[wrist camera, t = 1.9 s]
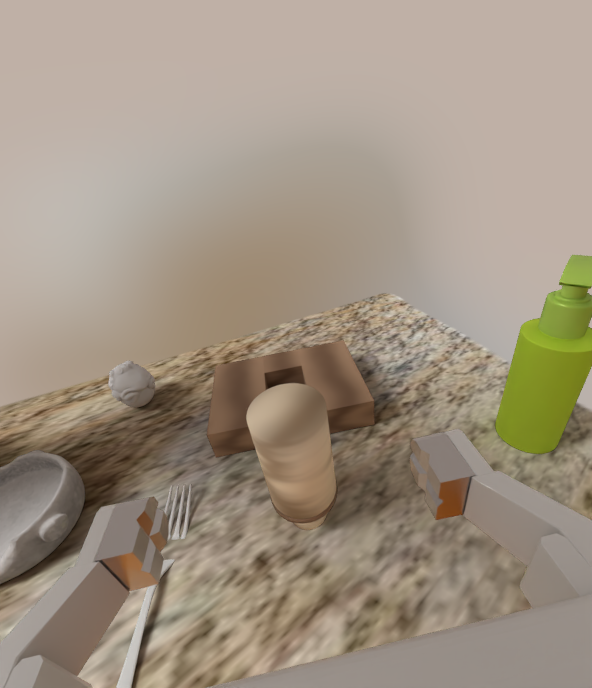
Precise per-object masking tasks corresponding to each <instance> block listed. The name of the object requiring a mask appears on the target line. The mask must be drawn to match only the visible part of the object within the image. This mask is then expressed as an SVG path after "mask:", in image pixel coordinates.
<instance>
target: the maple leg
mask: <svg viewBox="0 0 592 688" xmlns="http://www.w3.org/2000/svg"><path fill="white" fill-rule="evenodd" d="M246 420H247V424H248V427H249V430H250V434H251V437H252V440H253V443H254V446H255V449H256V452H257V455H258V458H259V462H260V465H261V468H262V471H263V474H264V477H265V480H266V483H267V486H268V490H269V493H270V497H271V501H272V504H273V506H274V508H275V510H276V511H277V513H278V514H279V515H280V516H281V517H283V518H284V519H286V520H288V521H290V522H293V523H294V524H295V525H296V526H297V527H299V528H301V529H304V530H311V529H315V528H317V527H319V526H320V525H321V524H322V523H323V522H324V520H325V519H326V516H327V513H328V512H329V511H330V510H331V508H332V507H333V505H334V503H335V501H336V497H337V482H336V478H335V470H334V463H333V455H332V447H331V439H330V432H329V424H328V416H327V408H326V402H325V399H324V397H323V396H322V394H321V393H320V392H319V391H317V390H316V389H314V388H313V387H310V386H308V385H304V384H299V383H288V384H281V385H277V386H274V387H271V388H269V389H267V390H265V391H264V392H262V393H261V394H259V395H258V396H257V397H256V398H255V399H254V400H253V401H252V403H251V404H250V406H249V408H248V410H247V415H246Z"/></svg>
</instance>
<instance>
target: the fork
mask: <svg viewBox="0 0 592 688" xmlns="http://www.w3.org/2000/svg"><path fill="white" fill-rule="evenodd" d="M172 487H173V485H171V487H170V491H169V495H168V499H167V503H166V507H165V511H164V512H165V514H166V515H167V513H168V509H169V504H170V500H171V494H172ZM191 487H192V484H190V487H189V494H188V499H187V507H186V515H185V523H184V529H183V533H182V535H181V538H179V536H180V535H179V531H180V525H181V518H182V511H183V504H184V495H185V484H184V485H183V491H182V496H181V501H180V507H179V513H178V519H177V524H176V528H175V532H174V534H173V536H172V538H171V539H184V538H185V537H186V534H187V531H188V523H189V513H190V503H191ZM178 490H179V485H177V488H176V493H175V497H174V502H173V506H172V511H171V516H170V520H169V535H168V539H169V538H170V537H171V535H170V533H171V530H172V525H173V519H174V514H175V509H176V503H177V497H178ZM174 561H175V560H173V559H172V560H164V561H163V566H162V571H161V576H160V578H161V577H162V576H163V574H164V573H165V572H166V571H167V570H168V569H169V568H170V567H171V566H172V564H173V563H174ZM156 586H157V584H156V585H152V586H148V589H147V592H146V595H145V598H144V601H143V605H142V608H141V611H140V615H139V618H138V621H137V625H136V628H135V631H134V635H133V638H132V641H131V644H130V647H129V650H128V654H127V657H126V660H125V663H124V666H123V669H122V672H121V675H120V678H119V681H118V684H117V686H116V688H132V683H133V678H134V673H135V669H136V664H137V659H138V654H139V650H140V645H141V640H142V636H143V632H144V628H145V623H146V619H147V615H148V611H149V607H150V604H151V600H152V597H153V594H154V591H155V589H156Z"/></svg>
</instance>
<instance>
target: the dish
mask: <svg viewBox="0 0 592 688" xmlns="http://www.w3.org/2000/svg"><path fill="white" fill-rule="evenodd" d="M84 501H85V489H84V484H83V481H82V479H81V477H80V475H79V473H78V472H77V471H76V469H75V468H74V467H73V466H72V465H71V464H70V463H69V462H68V461H67V460H65V459H64V458H62V457H61V456H58V455H55V454H50V453H45V452H44V451H40V450H35V451H31V452H29V453H28V454H24V455H21V456H18V457H17V458H16V459H15V460H13V461H12V462H11V463H9V464H7V465H5V466H3V467H0V584H1V583H4V582H6V581H8V580H10V579H12V578H14V577H16V576H18V575H20V574H22V573H24V572H25V571H27V570H29V569H30V568H32V567H34V566H35V565H36V564H38V563H39V562H40V561H42V560H43V559H44V558H46V557H47V556H48V555H49V554H51V553H52V552H53V551H54V550H55V549H56V548H57V547H58V546H59V545H60V544H61V543H62V542H63V540H64V539H65V538H66V537H67V535H68V534H69V533H70V532H71V530H72V529H73V527H74V525H75V524H76V522H77V520H78V518H79V516H80V514H81V511H82V508H83V505H84Z"/></svg>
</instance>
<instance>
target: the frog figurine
mask: <svg viewBox="0 0 592 688" xmlns="http://www.w3.org/2000/svg"><path fill="white" fill-rule="evenodd" d="M109 373H110V374H109V375H110V378H109V387H110V389H111V390H112V396H113V397H114V398H116V399H117V400H118V401H121V402H123V403H124V404H126V405H127V406H130V407H141V406H144V405H146V404H147V403H148V402H150V401H151V399H152V398H153V396H154V392H155V383H154V382H155V379H154V377H153V376H152V375H151V374H150V373H149V372H148V371H147V370H146V369H145V368H143V367H141V366H139V365H137V364H134V363H133V362H132V361H126V362H124V363H123V364H120V365H118V366H116V367H115V369H113V370H111V371H110V372H109Z"/></svg>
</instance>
